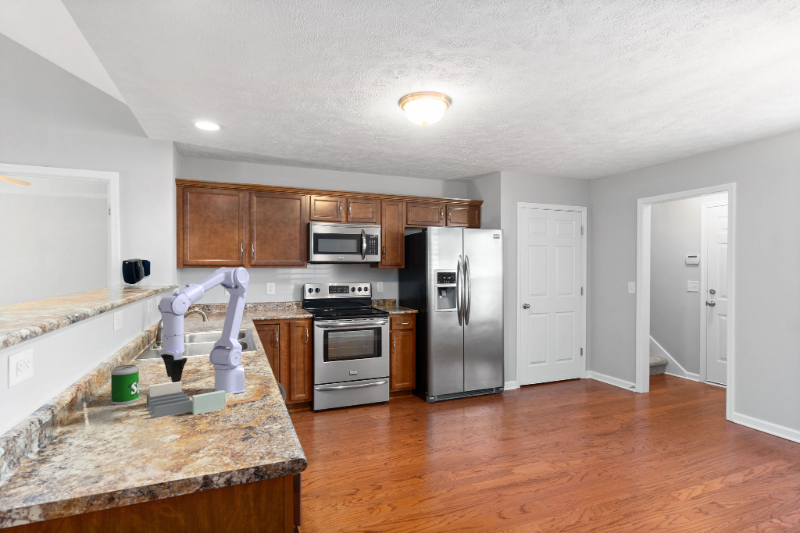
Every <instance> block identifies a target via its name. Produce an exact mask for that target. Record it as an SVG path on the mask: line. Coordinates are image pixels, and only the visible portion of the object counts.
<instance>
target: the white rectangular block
mask: <svg viewBox="0 0 800 533" xmlns="http://www.w3.org/2000/svg"><path fill="white" fill-rule="evenodd" d="M182 385H183V382H182V380H180V382H174V383H173V382H172V381H169V382H163V383H155V384H149V385H148V394H149V397H153V396H159V395H164V394H170V393H176V392H182V391H183V390H182V388H183V386H182Z"/></svg>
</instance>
